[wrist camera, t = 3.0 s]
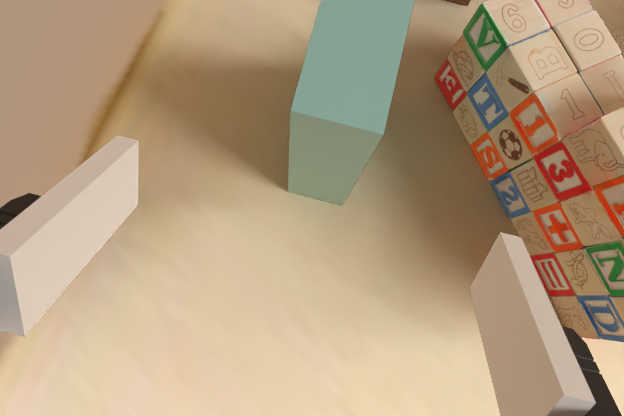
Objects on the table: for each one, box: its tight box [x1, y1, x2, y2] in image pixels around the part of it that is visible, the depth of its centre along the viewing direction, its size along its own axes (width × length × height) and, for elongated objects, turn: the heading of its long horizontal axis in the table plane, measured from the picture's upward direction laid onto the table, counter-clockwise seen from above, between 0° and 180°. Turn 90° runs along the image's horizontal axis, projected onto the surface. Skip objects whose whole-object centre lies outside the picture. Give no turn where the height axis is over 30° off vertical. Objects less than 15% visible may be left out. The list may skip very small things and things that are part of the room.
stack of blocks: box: [434, 0, 624, 342], centre depth 28 cm, size 21×6×12 cm, turn 25°
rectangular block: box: [288, 0, 414, 206], centre depth 27 cm, size 4×10×14 cm, turn 166°
